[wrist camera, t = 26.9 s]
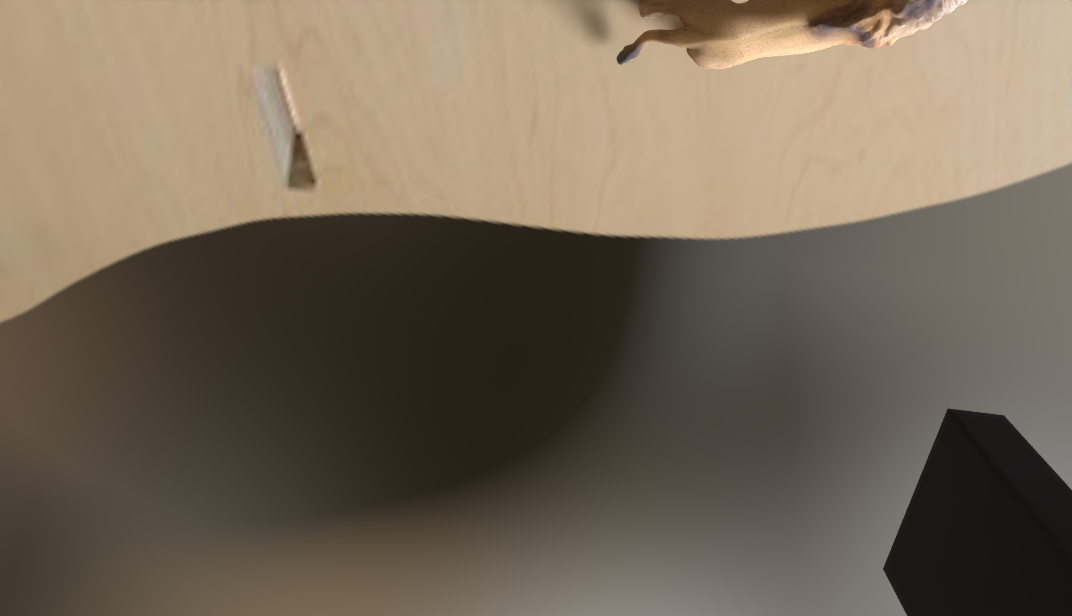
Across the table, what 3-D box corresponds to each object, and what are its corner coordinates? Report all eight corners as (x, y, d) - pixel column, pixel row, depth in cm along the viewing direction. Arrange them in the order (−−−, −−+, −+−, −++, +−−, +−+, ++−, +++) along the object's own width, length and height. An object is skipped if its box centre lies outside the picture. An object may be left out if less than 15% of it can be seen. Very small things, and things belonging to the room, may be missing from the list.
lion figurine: (896, -115, 40) (990, -119, 31) (919, -2, 42) (1012, 21, 33) (599, 10, 42) (613, 36, 34) (634, 111, 44) (656, 158, 36)
